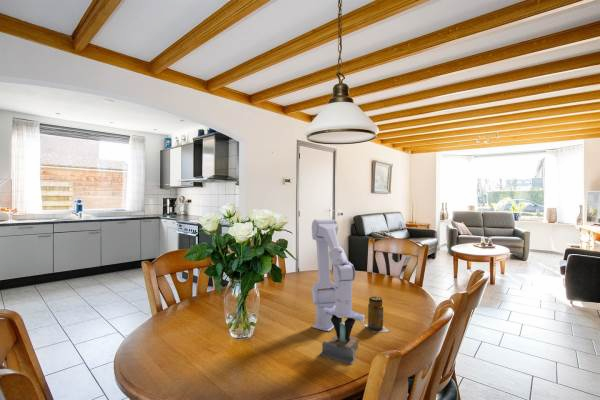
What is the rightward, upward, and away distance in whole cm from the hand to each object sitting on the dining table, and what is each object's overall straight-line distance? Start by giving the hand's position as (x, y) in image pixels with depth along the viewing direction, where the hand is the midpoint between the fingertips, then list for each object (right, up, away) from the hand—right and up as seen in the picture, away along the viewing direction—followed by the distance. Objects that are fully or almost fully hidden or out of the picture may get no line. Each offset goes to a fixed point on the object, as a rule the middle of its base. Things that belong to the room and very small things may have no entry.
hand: (343, 338), depth 106 cm
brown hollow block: (0, -4, 0) cm, 4 cm away
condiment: (+16, -5, +18) cm, 25 cm away
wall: (-2, -4, -4) cm, 6 cm away
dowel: (0, -2, 0) cm, 2 cm away
